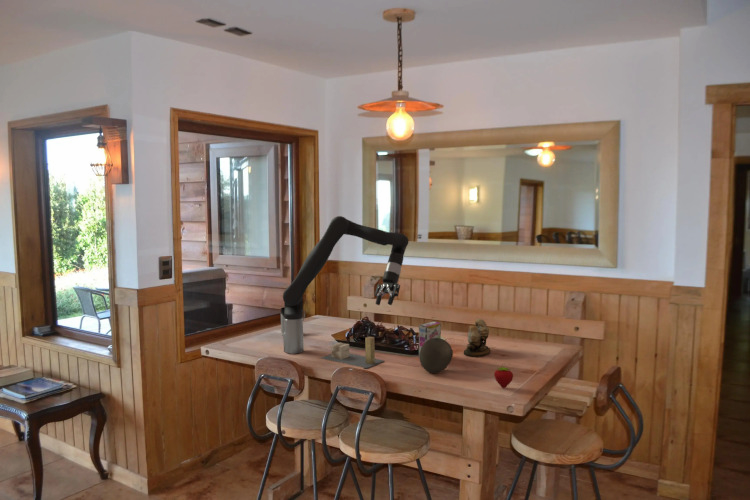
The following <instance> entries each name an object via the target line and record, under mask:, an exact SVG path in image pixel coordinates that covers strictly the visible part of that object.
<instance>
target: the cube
mask: <svg viewBox="0 0 750 500" xmlns="http://www.w3.org/2000/svg"><path fill="white" fill-rule="evenodd" d="M330 347H331V354H332V358H337V359H344V358H346V357H349V353H350V343H345V342H337V343H334V344H331V345H330Z"/></svg>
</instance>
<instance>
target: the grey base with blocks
mask: <svg viewBox="0 0 750 500" xmlns="http://www.w3.org/2000/svg"><path fill="white" fill-rule="evenodd" d="M364 338H365V342H364V344H365V346H364V348H365V356H364V355H360V354H359V355H358V354H354V353H350V352H349V357H346V358H344V359H337V358H332V353H331V354H328V355H325V356H322V357H320V359H322V360H327V361H332V362H335V363H341V364H344V365H345V364H346V365H350V366H355V367H360V368H363V369H364V370H367V369H370V368H372V367H374V366H377V365H379V364H382V363H384V362H385V360H384V359H379V358H375V357H376V356H375V354H376V352H375V349H376V348H375V346H376V345H375V336H367V337H364Z"/></svg>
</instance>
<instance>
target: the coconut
mask: <svg viewBox="0 0 750 500" xmlns="http://www.w3.org/2000/svg"><path fill="white" fill-rule="evenodd" d="M453 354H454V351H453V348H452V346H451V344H450V343H449V342H448V341H447V340H446V339H443V338H442V337H441V338H431V339H429V340H427V341H426V342H425V343H424V344H423V346H422V348H421V350H420V355H419V354H418V357H419V356H420V359H419V362H420V365H421V367H422V369H424V370H425V371H426V372H429V373H430V374H436V373H440V372H442V371H444V370H445V369H447V367H448V366H449V365H450V364H451V362H452V360H453V357H454V355H453Z"/></svg>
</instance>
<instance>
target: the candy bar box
mask: <svg viewBox="0 0 750 500" xmlns="http://www.w3.org/2000/svg"><path fill="white" fill-rule="evenodd" d="M441 327H442V323H441V322H437V321H430V322H426V323H422V324H418V359H419V360H420V356H419V355H420V350H421V348H422V346H423V344H424V343H425V342H426V341H427V340H429V339H431V338H441V339H442V337H441V332H442V328H441Z"/></svg>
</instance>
